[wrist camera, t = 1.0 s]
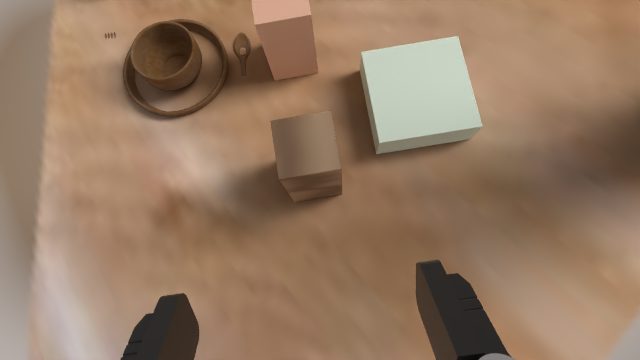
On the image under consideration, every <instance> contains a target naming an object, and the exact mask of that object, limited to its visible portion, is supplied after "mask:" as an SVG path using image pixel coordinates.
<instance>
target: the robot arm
mask: <svg viewBox="0 0 640 360" xmlns="http://www.w3.org/2000/svg"><path fill="white" fill-rule="evenodd" d="M416 299H417V305H418V309H419V312H420V315H421V318H422V321H423V324H424V326H425V329H426V332H427V335H428V338H429V341H430V343H431V346H432V349H433V352H434V355H435V357H436V360H515V359H514V358H512V357H511V356H510V355H509V354H508V352H507V351H506V349H505V347H504V345H503V344H502V342H501V340H500V338H499V336H498V334H497V333H496V331H495V329H494V327H493V325H492V323H491V322H490V320H489V318H488V316H487V314H486V312H485V311H484V310H483V307H482V305H481V303H480V301H479V300H478V299H477V296H476V294H475V292H474V290H473V289H472V287H471V285H470V283H468V282H467V281H466V280H465V279H464V278H463V277H461V276H460V275H459V274H458V273H456V274H448V275H447V274H446V272H445V270H444V268H443V266H442V264H441V262H440V261H439V260H433V261H426V262H418V263H417V264H416ZM198 341H199V325H198V322H197V319H196V317H195V315H194V312H193V310H192V307H191V305H190V303H189V300H188V298H187V296H186V295H185V294H184V293H182V294H175V295H167V296H162V297H160V299H159V300H158V303H157V305H156V308H155V310H154V313H151V314H146V315H145V316H144V317H143V318H142V320H141V321H140V322H139V323H138V324H137V325H136V327H135V328H134V330H133V332H132V335H131V337H130V339H129V342H128V345H127V346H126V348H125V351H124V353H123V357H122V358H121V360H194V357H195V353H196V349H197V345H198Z"/></svg>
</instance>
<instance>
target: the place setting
mask: <svg viewBox="0 0 640 360" xmlns="http://www.w3.org/2000/svg"><path fill="white" fill-rule="evenodd" d="M189 31H192V32H197V33H200V34H202V35H204V36H206V37H207V38H209V39H210V40H211V41H213V42H214V44H215V45H216V46H217V48H218V49H219V51H220V53H221V56H222V60H223V72H222V75H221V78H220V80H219V82H218V84H217V85H216V87H215V88H214V90H213V91H212V92H211V93H210V94H209V95H208V96H207V97H206V98H205V99H204V100H202V101H201V102H199V103H198V104H196V105H194V106H192V107H190V108H187V109H184V110H180V111H172V112H166V111H162V110H159V109H156V108H154V107H152V106H151V105H149V104H148V103H147V102H146V101H144V100H143V98H142V97H141V96H140V94H139V92H138V90H137V87H136V83H135V70H136V71H137V72H138V73H139V74H140V75H141V76H142V77H143V78H144V79H145V80H146V81H147V82H149V83H150V84H152V85H153V86H155V87H157V88H160V89H163V90H177V89H181V88H183V87H185V86H187V85H189V84H190V83H191V82H192V81H193V80H194V79H195V78H196V77H197V75H198V74H199V72H200V69H201V65H202V55H201V51H200V49H199V46H198V44H197V43H196V41H195V39H194V38H193V36H192V35H191V33H190V32H189ZM114 35H115V37H116V34H115V32H114ZM111 36H112V38H113V35H112V33H111ZM108 37H109V38H110V35H109V33H108ZM105 38H107V36H106V33H105ZM242 47H244V48H246V54H245V55H240V53H239V50H240V48H242ZM234 49H235V52H236V54H237V56H238V57H239V58H240V61H241V68H242V76H245V75H246V64H245V63H246V58H247V56H248V55H249V52H250V42H249V39H248V38H247V36H246V35H245V34H244V33H240V34H239V35H238V36H237V38H236V40H235V44H234ZM227 69H228V60H227V54H226V50H225V48H224V45H223V43H222V41H221V40H220V38H219V37H218V35H217V34H216V33H215V32H214V31H213V30H212V29H210V28H209V27H207V26H206V25H204V24H202V23H199V22H196V21H192V20H184V19H178V20H170V21H165V22H158V23H155V24H152V25H150V26H148V27H146V28H145V29H144V30H142V31H141V32H140V33H139V34H138V35H137V37H136V38H135V40H134V42H133V44H132V46H131V48H130V50H129V52H128V54H127V56H126V59H125V63H124V70H123V76H124V83H125V86H126V89H127V91H128V93H129V94H130V96H131V97H132V98H133V100H134V101H135V102H136V103H137V104H139V105H140V106H141V107H143V108H144V109H146V110H148V111H150V112H152V113H155V114H158V115H163V116H180V115H185V114H189V113H192V112H194V111H197V110H199V109H200V108H202V107H204V106H205V105H206V104H208V103H209V102H210V101H211V100H212V99H213V98H214V97H215V96H216V95H217V94H218V92H219V91H220V89H221V87H222V85H223V83H224V81H225V78H226V75H227Z"/></svg>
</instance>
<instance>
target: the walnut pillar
mask: <svg viewBox="0 0 640 360" xmlns="http://www.w3.org/2000/svg"><path fill="white" fill-rule="evenodd" d="M271 128H272V135H273V142H274V149H275V156H276V164H277V171H278V178H279V181H280V182H281V184H282V185H283V186H284V188H285V189H286V191H287V192H288V194H289V195H290V197H291V198H292V200H293V201H294V202H299V201H305V200H311V199H317V198H323V197H329V196H334V195H340V194H342V168H341V163H340V157H339V152H338V147H337V141H336V136H335V130H334V125H333V119H332V114H331V110H330V111H324V112H319V113H313V114H307V115H302V116H296V117H290V118H284V119H279V120H273V121H271Z"/></svg>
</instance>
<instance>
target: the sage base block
mask: <svg viewBox="0 0 640 360" xmlns="http://www.w3.org/2000/svg"><path fill="white" fill-rule="evenodd" d="M360 75H361V80H362V85H363V90H364V95H365V100H366V105H367V110H368V115H369V120H370V126H371V131H372V136H373V141H374V146H375V151H376V154H381V153H387V152H394V151H400V150H406V149H412V148H418V147H425V146H431V145H437V144H443V143H449V142H455V141H462V140H468V139H471V138H472V137H473V136H474V135H475V134H476V133H477V131H478V130H479V129H480V128H481V127H482V123H481V119H480V115H479V112H478V108H477V104H476V101H475V97H474V93H473V90H472V86H471V82H470V79H469V75H468V71H467V68H466V64H465V60H464V57H463V53H462V49H461V46H460V42H459V38H458V36H455V37H449V38H443V39H437V40H431V41H425V42H419V43H413V44H407V45H401V46H395V47H389V48H383V49H377V50H371V51H365V52H361V61H360Z"/></svg>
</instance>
